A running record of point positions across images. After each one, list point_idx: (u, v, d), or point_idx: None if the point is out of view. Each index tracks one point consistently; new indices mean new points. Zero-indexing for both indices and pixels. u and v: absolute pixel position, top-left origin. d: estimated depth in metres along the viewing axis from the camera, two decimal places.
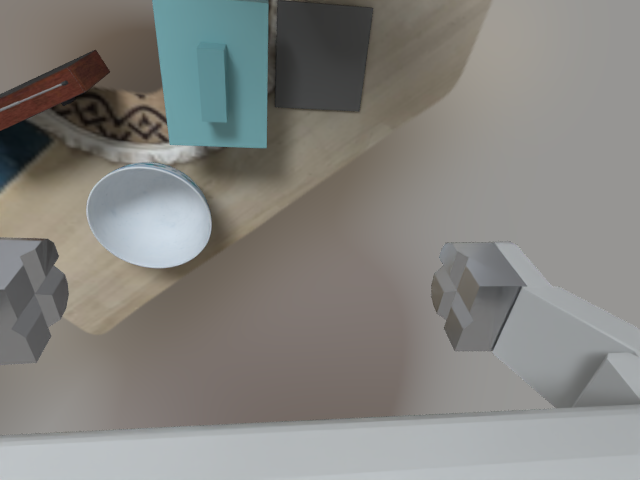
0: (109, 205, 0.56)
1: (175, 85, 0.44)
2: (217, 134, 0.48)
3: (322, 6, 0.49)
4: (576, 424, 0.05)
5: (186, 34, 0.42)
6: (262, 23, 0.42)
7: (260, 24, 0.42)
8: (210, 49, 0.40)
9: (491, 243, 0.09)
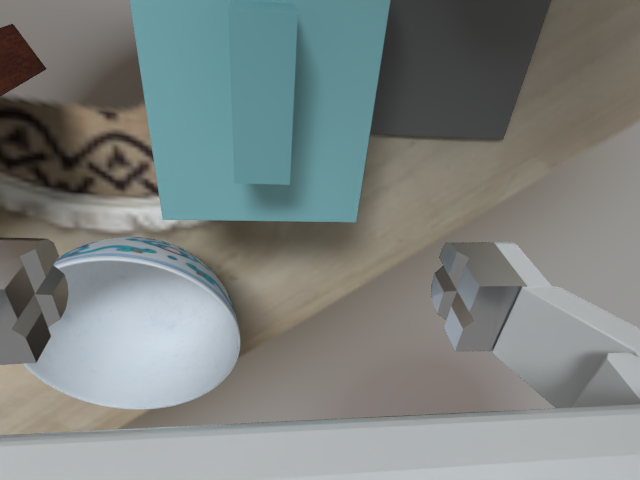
0: None
1: (174, 100, 0.20)
2: (260, 198, 0.23)
3: None
4: (575, 424, 0.05)
5: None
6: None
7: None
8: (263, 12, 0.16)
9: (491, 243, 0.09)
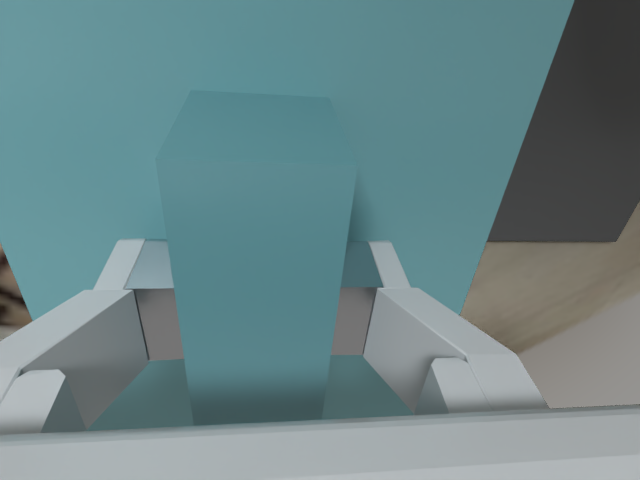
0: None
1: (79, 279, 0.10)
2: None
3: None
4: (575, 424, 0.05)
5: (107, 47, 0.07)
6: None
7: None
8: (260, 161, 0.05)
9: (365, 242, 0.09)
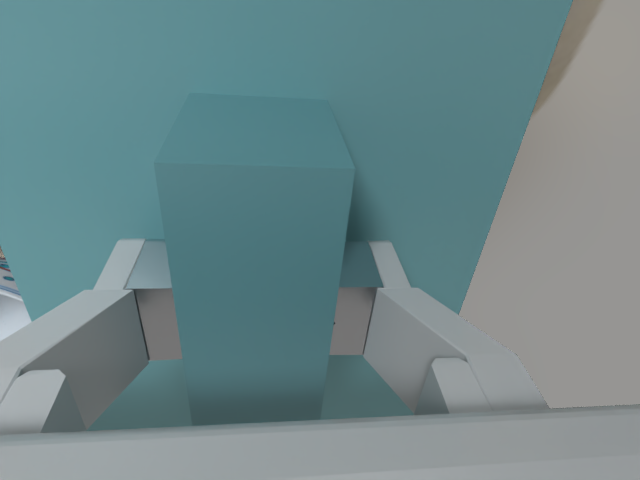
0: None
1: (78, 280, 0.10)
2: None
3: None
4: (575, 424, 0.05)
5: (105, 50, 0.07)
6: None
7: None
8: (258, 165, 0.05)
9: (365, 242, 0.09)
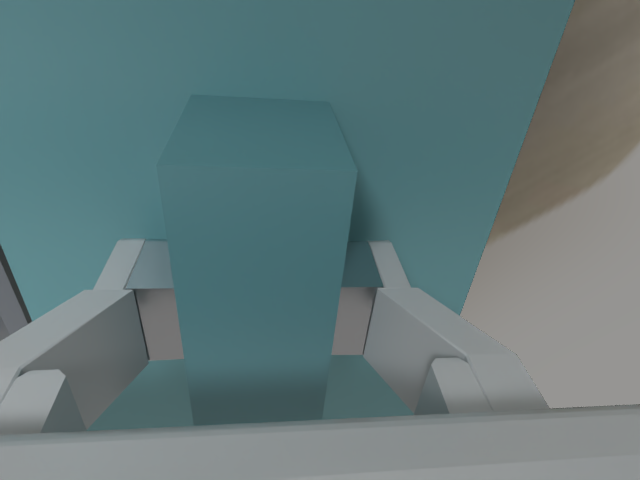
0: None
1: (79, 282, 0.10)
2: None
3: None
4: (576, 424, 0.05)
5: (107, 52, 0.07)
6: None
7: None
8: (260, 167, 0.05)
9: (365, 242, 0.09)
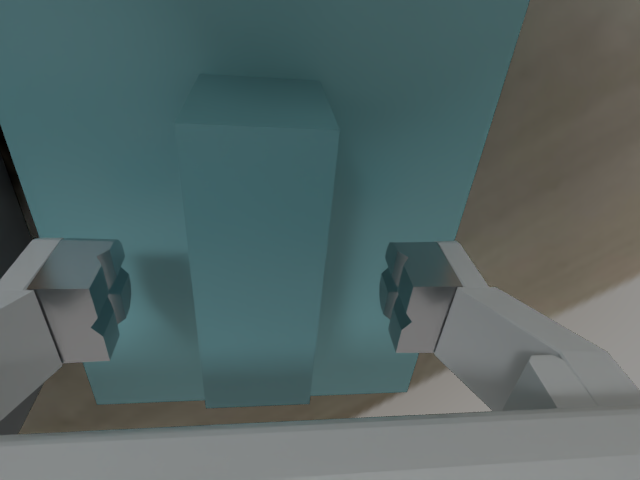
0: None
1: None
2: None
3: None
4: (576, 424, 0.05)
5: (128, 35, 0.08)
6: None
7: None
8: (259, 127, 0.07)
9: (435, 243, 0.09)
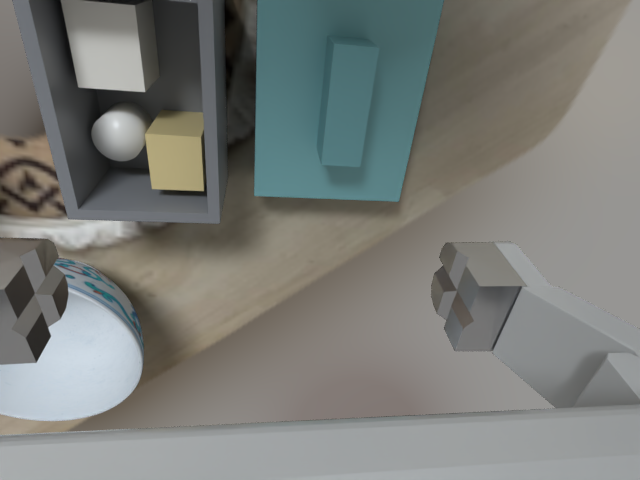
0: None
1: (276, 105, 0.27)
2: (329, 181, 0.31)
3: None
4: (576, 424, 0.05)
5: (306, 21, 0.25)
6: (433, 5, 0.25)
7: (429, 8, 0.25)
8: (356, 46, 0.23)
9: (491, 243, 0.09)
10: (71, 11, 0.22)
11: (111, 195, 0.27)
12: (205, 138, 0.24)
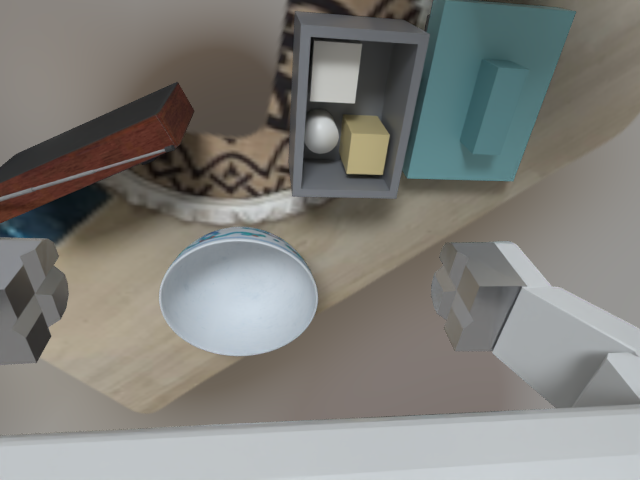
0: (182, 278, 0.43)
1: (436, 110, 0.37)
2: (464, 166, 0.40)
3: None
4: (576, 425, 0.05)
5: (469, 49, 0.34)
6: (560, 35, 0.34)
7: (557, 37, 0.34)
8: (513, 68, 0.33)
9: (492, 243, 0.09)
10: (319, 49, 0.32)
11: (314, 179, 0.37)
12: (401, 136, 0.34)
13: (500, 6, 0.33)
